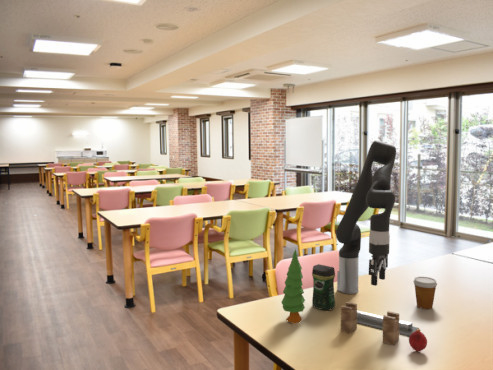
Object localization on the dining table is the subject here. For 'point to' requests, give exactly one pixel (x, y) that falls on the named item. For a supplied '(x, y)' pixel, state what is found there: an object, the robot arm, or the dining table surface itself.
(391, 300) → the dining table surface
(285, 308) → the decorative tree
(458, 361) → the dining table surface
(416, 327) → the mat
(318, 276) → the coffee jar
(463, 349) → the dining table surface
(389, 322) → the post
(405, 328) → the rail
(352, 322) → the post
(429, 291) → the disposable coffee cup
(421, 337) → the onion
